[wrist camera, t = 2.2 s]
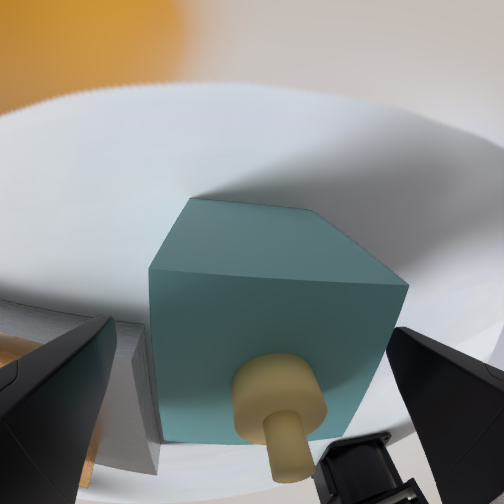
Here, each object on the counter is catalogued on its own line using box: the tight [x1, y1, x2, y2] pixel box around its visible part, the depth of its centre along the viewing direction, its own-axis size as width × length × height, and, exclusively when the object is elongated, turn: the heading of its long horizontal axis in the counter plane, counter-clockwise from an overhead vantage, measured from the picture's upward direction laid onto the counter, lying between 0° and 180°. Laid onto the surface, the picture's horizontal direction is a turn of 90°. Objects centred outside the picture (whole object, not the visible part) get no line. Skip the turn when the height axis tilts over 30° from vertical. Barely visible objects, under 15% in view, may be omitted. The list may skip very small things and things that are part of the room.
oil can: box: [149, 198, 409, 483], centre depth 9 cm, size 6×6×11 cm
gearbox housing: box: [0, 300, 160, 488], centre depth 12 cm, size 19×12×6 cm, turn 83°
